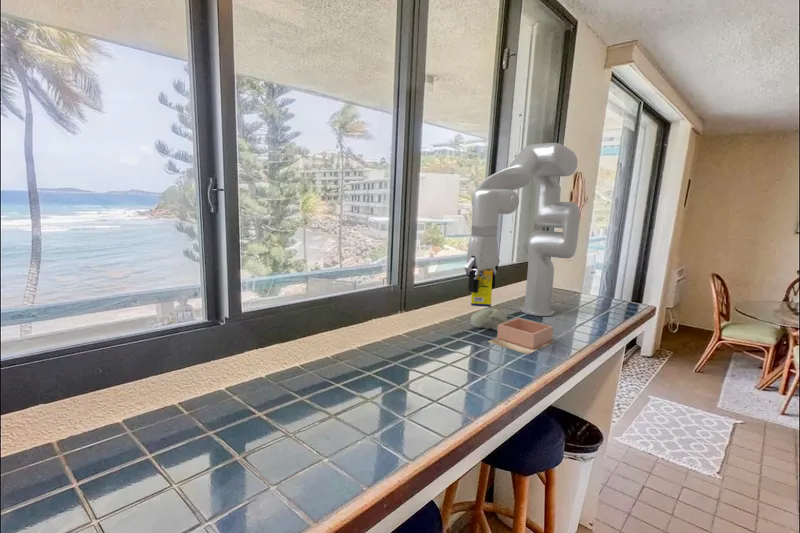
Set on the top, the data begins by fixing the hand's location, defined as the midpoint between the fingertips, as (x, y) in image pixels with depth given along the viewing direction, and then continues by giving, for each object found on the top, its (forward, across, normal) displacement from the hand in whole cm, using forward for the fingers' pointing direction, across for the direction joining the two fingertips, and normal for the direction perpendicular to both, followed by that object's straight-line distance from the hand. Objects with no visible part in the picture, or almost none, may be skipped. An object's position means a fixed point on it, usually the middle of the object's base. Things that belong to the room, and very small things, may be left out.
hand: (481, 289), depth 123 cm
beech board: (+16, -4, +12) cm, 20 cm away
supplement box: (+5, 0, 0) cm, 5 cm away
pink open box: (+14, -6, +12) cm, 20 cm away
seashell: (+16, -9, -2) cm, 18 cm away
